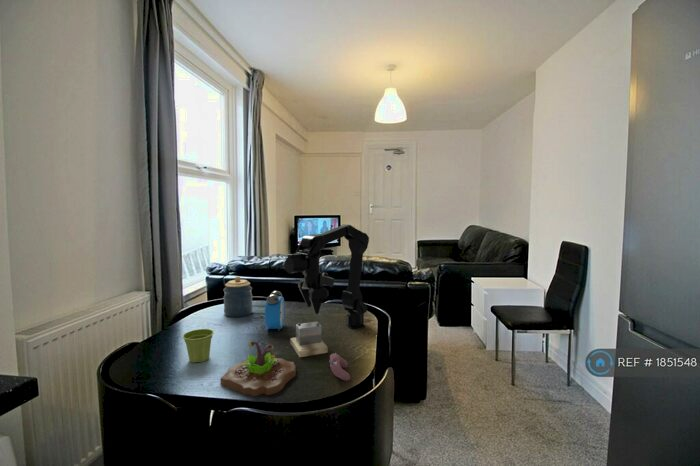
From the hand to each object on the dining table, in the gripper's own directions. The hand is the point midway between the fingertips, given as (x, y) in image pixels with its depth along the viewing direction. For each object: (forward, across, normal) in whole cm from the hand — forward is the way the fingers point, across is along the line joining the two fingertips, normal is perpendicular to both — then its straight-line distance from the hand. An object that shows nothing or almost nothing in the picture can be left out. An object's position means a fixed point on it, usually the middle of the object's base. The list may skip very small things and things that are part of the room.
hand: (313, 310), depth 133 cm
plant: (+11, -21, +24) cm, 34 cm away
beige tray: (+11, -7, +4) cm, 14 cm away
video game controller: (+12, -29, +2) cm, 32 cm away
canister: (+12, +46, +22) cm, 52 cm away
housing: (+9, -6, +4) cm, 12 cm away
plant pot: (+11, -1, +40) cm, 42 cm away
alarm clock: (+12, +19, +11) cm, 24 cm away
